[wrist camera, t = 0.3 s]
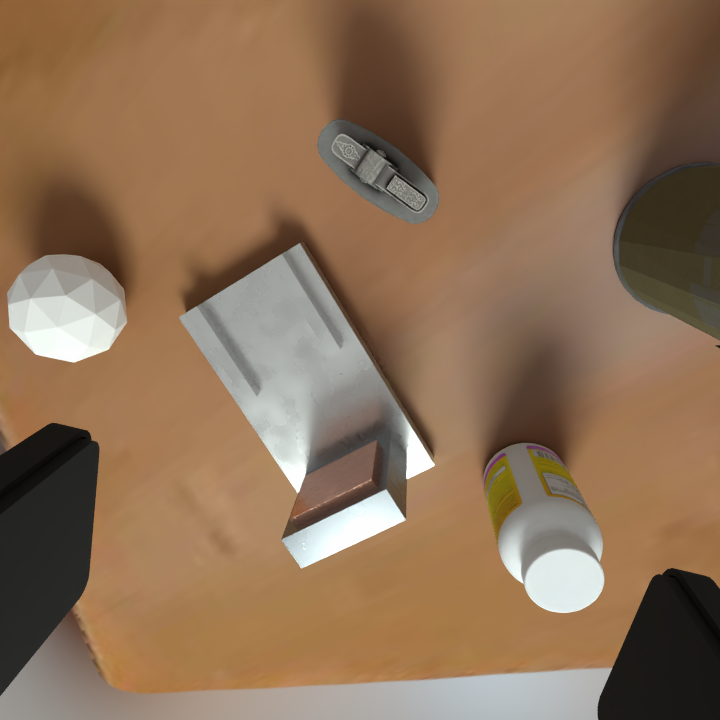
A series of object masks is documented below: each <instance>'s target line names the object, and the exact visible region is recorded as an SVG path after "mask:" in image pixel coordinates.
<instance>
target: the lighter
mask: <svg viewBox="0 0 720 720" xmlns="http://www.w3.org/2000/svg"><path fill="white" fill-rule="evenodd" d="M318 151H319V155H320V156H321V158H322V160H323V161H324V162H325V163H326V164H327V165H328V166H329V167H330V168H331V169H332V170H333V171H334V172H335V174H336V175H337V176H338V177H339V178H340V179H341V180H342V181H344V182H345V183H346V184H347V185H348V186H349V187H351V188H352V189H353V190H354V191H355V192H357V193H358V194H359V195H360V196H361V197H363V198H364V199H366V200H367V201H369V202H371V203H372V204H374V205H375V206H377V207H379V208H380V209H382V210H383V211H385V212H387V213H389V214H391V215H394V216H396V217H398V218H400V219H402V220H404V221H406V222H409V223H413V224H417V223H422V222H424V221H426V220H428V219H429V218H430V217H431V216H432V215H433V214H434V213H435V211H436V209H437V207H438V203H439V193H438V190H437V188H436V186H435V185H434V184H433V183H432V182H431V181H430V179H429V178H428V177H427V176H426V175H425V174H424V173H423V172H422V171H421V169H420V168H419V167H418V166H417V165H416V164H415V163H414V162H412V161H411V160H410V159H409V158H408V157H407V156H405V155H404V154H403V153H402V152H401V151H400V150H398V149H397V148H396V147H395V146H393V145H392V144H390V143H389V142H387V141H385V140H384V139H382V138H381V137H379V136H378V135H376V134H374V133H373V132H371V131H369V130H367V129H365V128H363V127H360V126H358V125H356V124H354V123H352V122H350V121H348V120H343V119H338V120H333V121H332V122H330V123H328V124H327V125H326V126H325V127H324V128H323V130H322V131H321V133H320V136H319V138H318Z"/></svg>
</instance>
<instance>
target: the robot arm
mask: <svg viewBox="0 0 720 720" xmlns="http://www.w3.org/2000/svg"><path fill="white" fill-rule="evenodd" d="M98 462H99V445H98V443H97V442H95V441H91V435H90V433H89V432H88V431H87V430H83V429H78V428H74V427H70V426H66V425H61V424H57V423H51V424H49V425H47V426H45V427H44V428H42V429H41V430H39V431H37V432H36V433H34V434H33V435H31V436H30V437H28V438H27V439H25V440H24V441H22V442H20V443H19V444H17V445H16V446H14V447H13V448H11V449H10V450H8V451H7V452H5V453H4V454H2V455H0V696H1V694H2V693H3V692H4V691H5V689H6V688H7V687H8V686H9V684H10V683H11V682H12V681H13V680H14V678H15V677H16V676H17V674H18V673H19V672H20V671H21V670H22V669H23V667H24V666H25V665H26V663H27V662H28V661H29V660H30V659H31V657H32V656H33V655H34V654H35V653H36V651H37V650H38V649H39V648H40V646H41V645H42V644H43V643H44V641H45V640H46V639H47V638H48V636H49V635H50V634H51V633H52V632H53V630H54V629H55V628H56V627H57V625H58V624H59V623H60V622H61V621H62V619H63V618H64V617H65V616H66V614H67V613H68V612H69V611H70V609H71V608H72V607H73V606H74V605H75V603H76V602H77V601H78V600H79V598H80V597H81V595H82V593H83V591H84V590H85V587H86V585H87V581H88V578H89V570H90V558H91V546H92V534H93V522H94V510H95V498H96V486H97V474H98ZM598 720H720V589H719V587H718V586H717V585H716V583H715V582H714V581H713V580H712V579H711V578H710V577H707V576H704V575H700V574H695V573H691V572H687V571H683V570H678V569H674V568H671V569H667V570H666V571H665V572H664V573H663V574H662V575H660V574H658V575H655V576H654V577H653V578H652V580H651V581H650V584H649V586H648V588H647V590H646V593H645V595H644V597H643V600H642V602H641V604H640V606H639V609H638V611H637V613H636V616H635V618H634V620H633V622H632V625H631V627H630V629H629V632H628V634H627V636H626V639H625V641H624V643H623V645H622V648H621V650H620V652H619V655H618V657H617V659H616V661H615V664H614V666H613V668H612V671H611V673H610V675H609V677H608V680H607V682H606V684H605V687H604V689H603V691H602V694H601V696H600V699H599V703H598Z"/></svg>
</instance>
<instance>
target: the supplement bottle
mask: <svg viewBox="0 0 720 720" xmlns="http://www.w3.org/2000/svg"><path fill="white" fill-rule="evenodd" d="M483 487H484V492H485V496H486V500H487V505H488V508H489V512H490V516H491V520H492V524H493V528H494V532H495V536H496V540H497V544H498V548H499V552H500V555H501V558H502V561H503V563H504V565H505V566H506V568H507V569H508V571H509V572H510V573H511V574H512V575H513V576H514V577H515V578H516V579H517V580H519V581H520V582H522V583H524V586H525V589H526V591H527V593H528V595H529V597H530V598H531V599H532V600H533V601H534V602H535V603H536V604H537V605H539V606H540V607H542V608H544V609H546V610H549V611H553V612H559V613H568V612H574V611H578V610H581V609H583V608H585V607H587V606H588V605H590V604H591V603H592V602H594V601H595V600H596V599H597V597H598V596H599V595H600V593H601V591H602V589H603V585H604V572H603V569H602V567H601V564H600V562H599V561H600V558H601V555H602V549H603V541H602V535H601V532H600V529H599V526H598V524H597V522H596V520H595V519H594V517H593V515H592V513H591V511H590V510H589V508H588V506H587V504H586V502H585V501H584V499H583V497H582V495H581V493H580V491H579V490H578V488H577V486H576V484H575V482H574V481H573V479H572V477H571V475H570V473H569V472H568V470H567V468H566V466H565V465H564V463H563V462H562V461H561V459H560V458H559V457H558V456H557V455H556V454H555V453H554V452H553V451H551V450H550V449H548V448H546V447H544V446H541V445H538V444H534V443H519V444H514V445H511V446H508V447H506V448H504V449H502V450H500V451H499V452H498V453H497V454H495V455H494V456H493V457H492V459H491V460H490V461H489V463H488V465H487V467H486V469H485V472H484V477H483Z"/></svg>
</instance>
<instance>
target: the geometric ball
mask: <svg viewBox="0 0 720 720" xmlns="http://www.w3.org/2000/svg"><path fill="white" fill-rule="evenodd" d="M7 297H8V310H9V323H10V328H11V329H12V330H13V331H14V333H15V334H16V335H17V336H18V337H19V338H20V339H21V340H22V341H23V342H24V343H25V344H26V345H27V346H28V347H29V348H30V349H31V350H32V351H33V352H34V353H35V354H36V355H41V356H45V357H50V358H55V359H60V360H65V361H69V362H77V361H79V360H82V359H85V358H87V357H90V356H93V355H95V354H98V353H101V352H103V351H106V350H109V348H110V347H111V345H112V344H113V342H114V341H115V339H116V338H117V336H118V335H119V333H120V332H121V330H122V329H123V327H124V326H125V324H126V323H127V314H126V303H125V293H124V289H123V287H122V286H121V285H120V284H119V283H118V281H117V280H116V279H115V278H114V276H113V275H112V274H111V273H110V272H109V271H108V270H107V269H106V268H105V267H104V266H102V265H101V264H100V263H97V262H94V261H92V260H89V259H87V258H84V257H82V256H76V255H67V254H59V255H45V256H43V257H42V258H40V259H38V260H36V261H35V262H33V263H31V264H29V265H28V266H27V267H26V268H25V269H24V270H23V271H22V272H21V273H20V274H19V276H18V277H17V279H16V280H15V282H14V283H13V285H12V286H11V288H10V289H9V291H8V293H7Z"/></svg>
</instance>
